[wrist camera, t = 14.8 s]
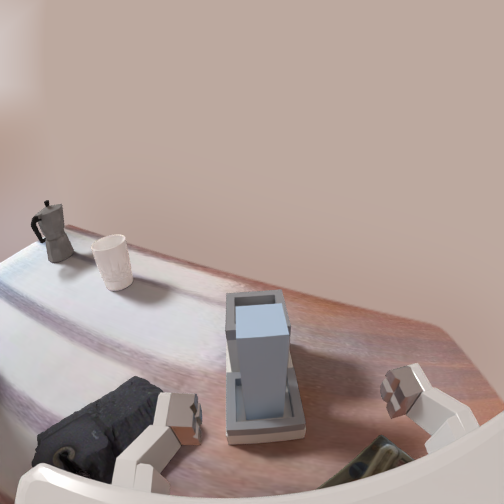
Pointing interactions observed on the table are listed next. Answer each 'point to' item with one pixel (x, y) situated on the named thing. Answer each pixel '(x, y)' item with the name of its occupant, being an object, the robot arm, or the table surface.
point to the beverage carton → (370, 462)
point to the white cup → (113, 261)
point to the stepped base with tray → (236, 421)
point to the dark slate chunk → (99, 431)
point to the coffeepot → (53, 232)
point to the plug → (262, 359)
